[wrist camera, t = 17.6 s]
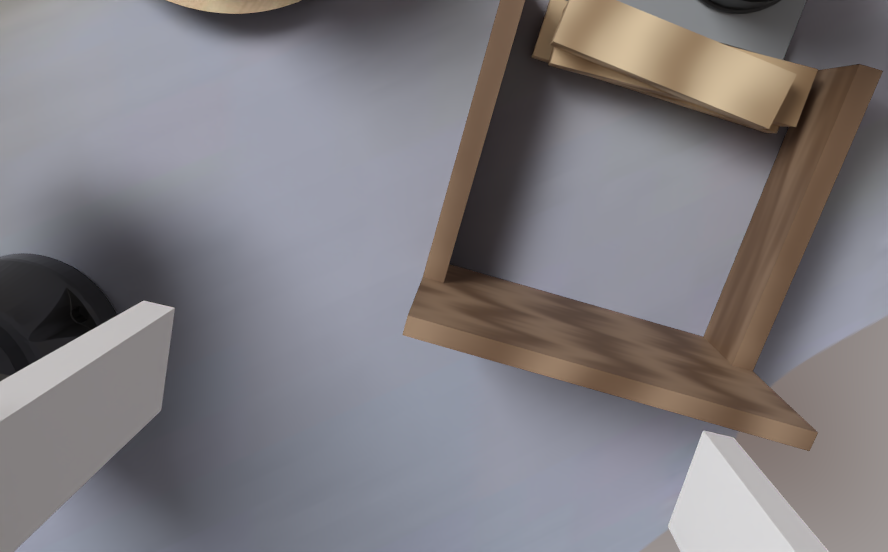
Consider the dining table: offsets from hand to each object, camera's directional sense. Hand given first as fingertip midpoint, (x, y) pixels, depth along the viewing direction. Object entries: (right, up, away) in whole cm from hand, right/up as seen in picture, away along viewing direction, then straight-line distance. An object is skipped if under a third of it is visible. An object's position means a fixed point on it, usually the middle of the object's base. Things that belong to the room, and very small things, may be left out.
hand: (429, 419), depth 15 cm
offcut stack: (+16, +19, +31) cm, 39 cm away
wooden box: (+13, +11, +32) cm, 37 cm away
